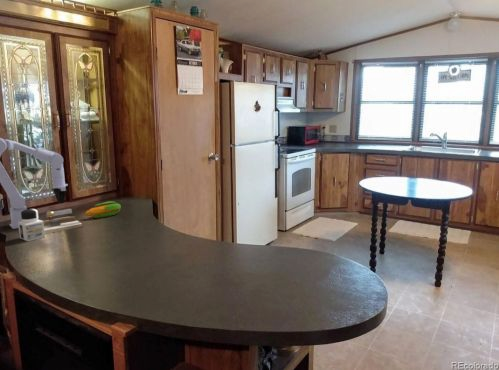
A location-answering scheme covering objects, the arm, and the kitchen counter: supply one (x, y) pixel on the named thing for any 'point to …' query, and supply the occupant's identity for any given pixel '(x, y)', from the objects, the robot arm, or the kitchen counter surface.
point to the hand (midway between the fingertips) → (60, 202)
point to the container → (30, 225)
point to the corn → (104, 210)
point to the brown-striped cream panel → (60, 224)
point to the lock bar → (58, 212)
